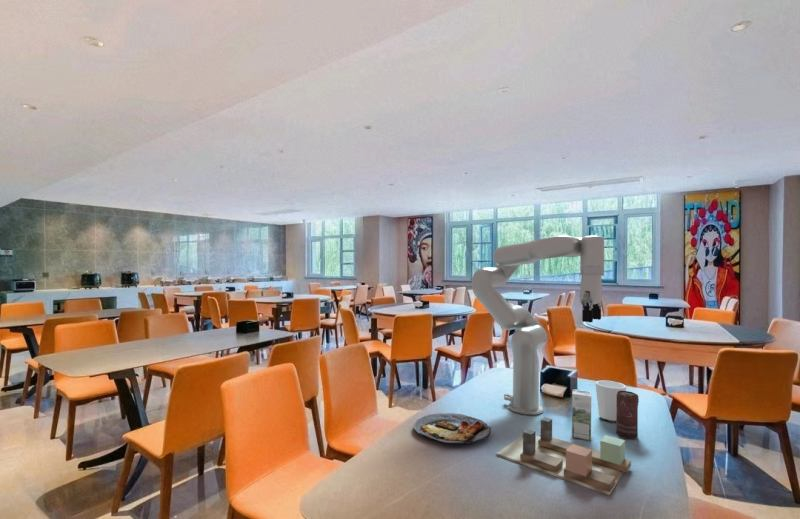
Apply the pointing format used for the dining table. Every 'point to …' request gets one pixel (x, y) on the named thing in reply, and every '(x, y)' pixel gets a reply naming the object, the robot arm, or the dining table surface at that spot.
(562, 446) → the strip
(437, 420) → the food plate
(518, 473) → the dining table surface
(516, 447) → the board
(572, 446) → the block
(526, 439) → the strip piece
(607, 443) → the cube
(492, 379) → the dining table surface
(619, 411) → the can
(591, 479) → the strip piece
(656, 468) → the dining table surface
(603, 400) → the cup
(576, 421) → the syrup box
